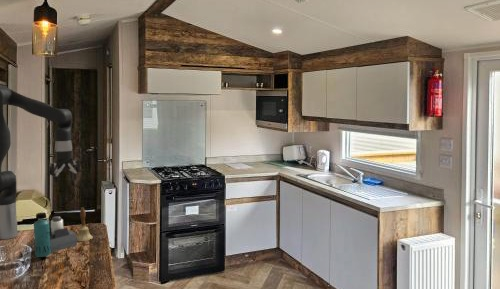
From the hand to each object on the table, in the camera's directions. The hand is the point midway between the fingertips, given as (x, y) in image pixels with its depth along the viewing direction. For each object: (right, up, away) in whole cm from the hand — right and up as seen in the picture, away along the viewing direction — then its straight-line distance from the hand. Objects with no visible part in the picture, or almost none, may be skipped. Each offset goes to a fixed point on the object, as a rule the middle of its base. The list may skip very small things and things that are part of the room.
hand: (65, 182), depth 213 cm
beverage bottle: (0, -31, -23) cm, 39 cm away
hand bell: (+9, -28, +1) cm, 30 cm away
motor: (0, -30, -12) cm, 32 cm away
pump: (+1, -24, -12) cm, 26 cm away
